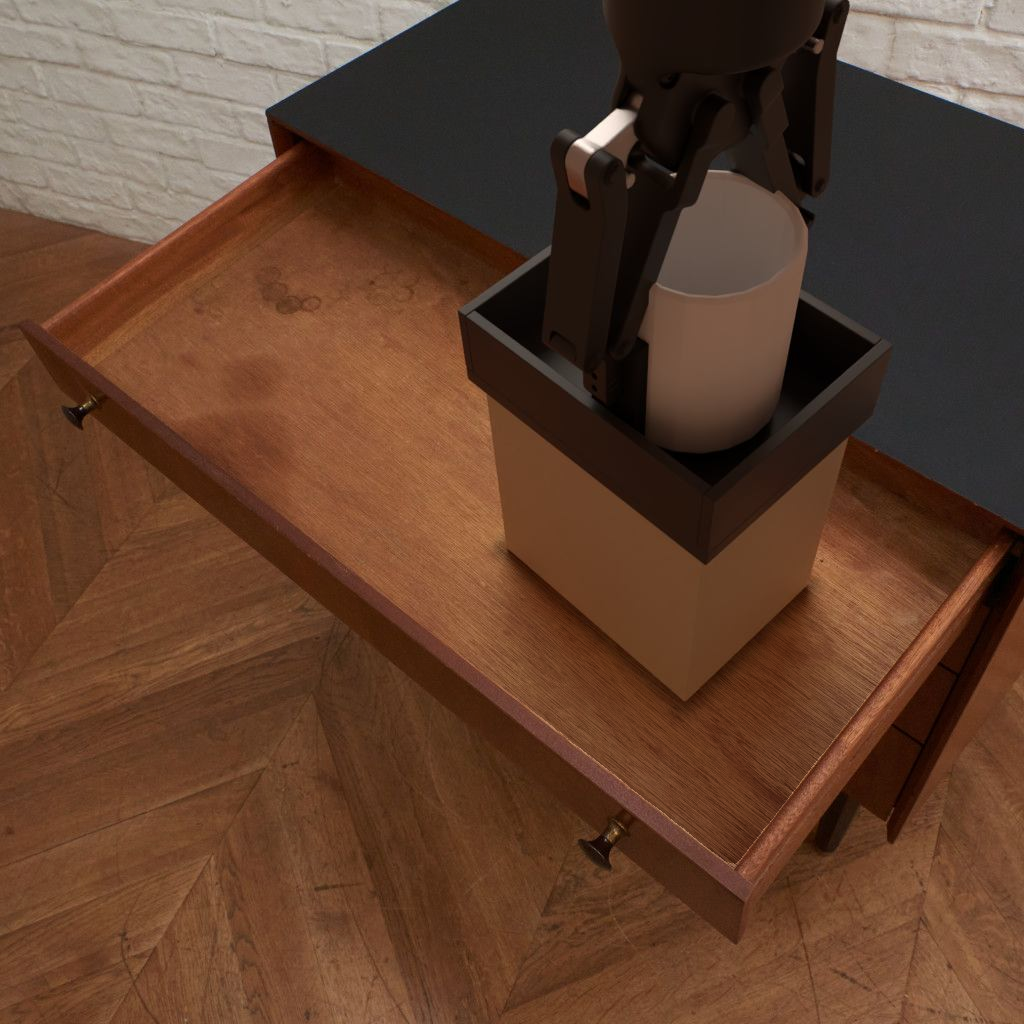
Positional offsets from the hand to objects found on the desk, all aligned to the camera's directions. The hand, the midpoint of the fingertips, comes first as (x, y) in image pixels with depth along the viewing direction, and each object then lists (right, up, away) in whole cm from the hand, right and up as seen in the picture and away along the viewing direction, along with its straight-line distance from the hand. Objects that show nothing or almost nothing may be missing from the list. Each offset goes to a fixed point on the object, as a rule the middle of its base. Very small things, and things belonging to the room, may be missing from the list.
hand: (682, 377), depth 55 cm
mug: (-1, 0, +1) cm, 1 cm away
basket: (-1, -1, +2) cm, 2 cm away
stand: (+1, -10, +15) cm, 18 cm away
